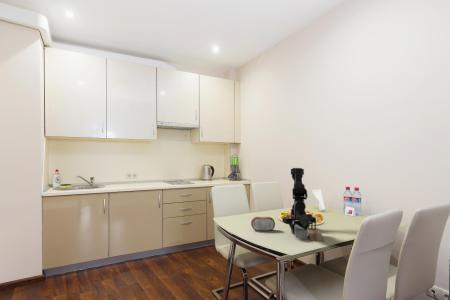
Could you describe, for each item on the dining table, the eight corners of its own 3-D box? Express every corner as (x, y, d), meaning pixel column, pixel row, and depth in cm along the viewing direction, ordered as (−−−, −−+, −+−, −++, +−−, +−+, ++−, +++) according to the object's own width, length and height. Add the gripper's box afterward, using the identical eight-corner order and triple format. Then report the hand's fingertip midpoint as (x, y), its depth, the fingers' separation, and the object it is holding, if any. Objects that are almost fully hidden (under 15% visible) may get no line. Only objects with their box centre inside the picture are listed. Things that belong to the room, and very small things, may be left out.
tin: (274, 229, 161) (274, 216, 161) (275, 231, 158) (275, 217, 158) (250, 229, 161) (251, 216, 161) (251, 231, 158) (251, 217, 158)
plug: (301, 240, 143) (301, 231, 143) (291, 233, 155) (291, 225, 155) (307, 239, 144) (307, 230, 144) (297, 232, 156) (297, 224, 156)
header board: (310, 240, 142) (310, 229, 142) (305, 229, 161) (305, 220, 161) (323, 241, 141) (323, 230, 141) (317, 230, 159) (317, 220, 159)
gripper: (290, 211, 140) (290, 240, 140) (321, 210, 143) (321, 238, 143) (282, 207, 151) (282, 233, 151) (311, 206, 154) (311, 231, 154)
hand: (299, 234), depth 149 cm, fingers open, 6 cm apart
